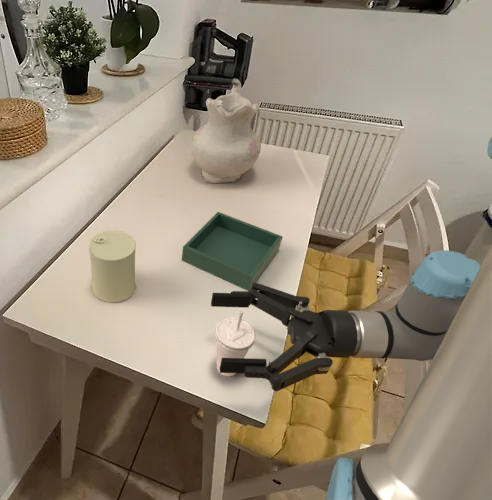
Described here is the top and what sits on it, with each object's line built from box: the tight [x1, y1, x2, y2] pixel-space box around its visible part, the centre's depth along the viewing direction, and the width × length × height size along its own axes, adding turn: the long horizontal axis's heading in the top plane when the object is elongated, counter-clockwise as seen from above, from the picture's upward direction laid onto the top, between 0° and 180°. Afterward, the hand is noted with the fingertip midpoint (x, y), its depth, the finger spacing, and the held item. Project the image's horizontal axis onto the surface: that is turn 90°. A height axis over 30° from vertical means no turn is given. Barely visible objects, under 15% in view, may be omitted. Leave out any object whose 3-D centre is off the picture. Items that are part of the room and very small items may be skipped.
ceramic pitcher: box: [190, 77, 262, 184], centre depth 120 cm, size 22×20×25 cm
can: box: [88, 230, 137, 303], centre depth 87 cm, size 9×9×12 cm
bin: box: [181, 211, 283, 291], centre depth 98 cm, size 17×17×4 cm
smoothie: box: [214, 310, 256, 377], centre depth 71 cm, size 6×6×14 cm
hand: (215, 330), depth 69 cm, fingers open, 13 cm apart
